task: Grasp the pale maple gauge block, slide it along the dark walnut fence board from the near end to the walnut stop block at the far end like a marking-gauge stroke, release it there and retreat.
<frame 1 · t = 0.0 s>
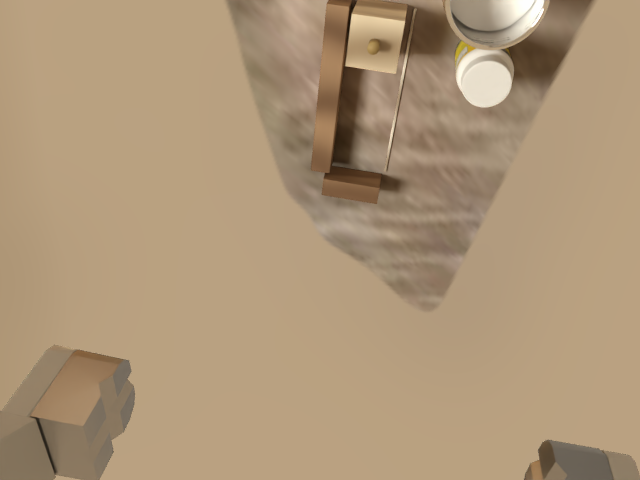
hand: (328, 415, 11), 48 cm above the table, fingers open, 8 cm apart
gauge block: (379, 26, 53), on the table
supplement bottle: (480, 51, 53), on the table
fence board: (331, 86, 57), on the table
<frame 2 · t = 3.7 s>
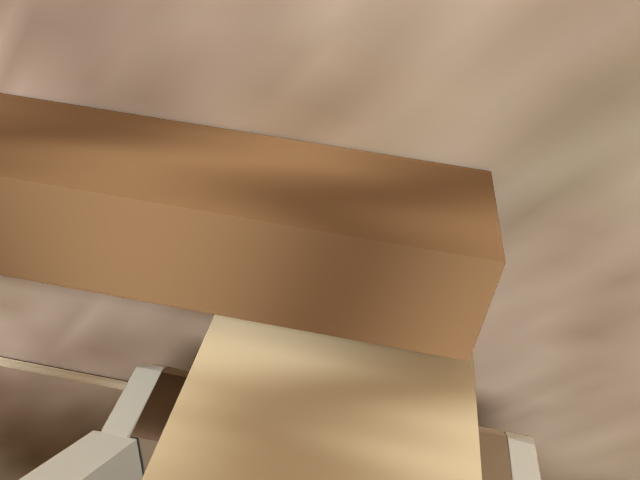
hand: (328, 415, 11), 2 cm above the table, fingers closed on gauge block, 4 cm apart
gauge block: (341, 342, 13), on the table, touching gripper
fence board: (29, 145, 11), on the table
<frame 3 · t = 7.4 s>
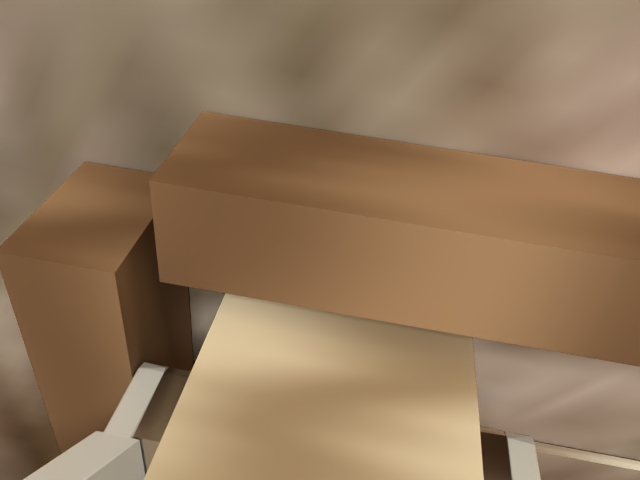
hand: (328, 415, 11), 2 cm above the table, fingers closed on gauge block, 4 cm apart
gauge block: (342, 343, 13), point 1 cm above the table, touching gripper
when the fingers open (2 cm above the table, at t = 9.5 s): gauge block stays where it is, on the table.
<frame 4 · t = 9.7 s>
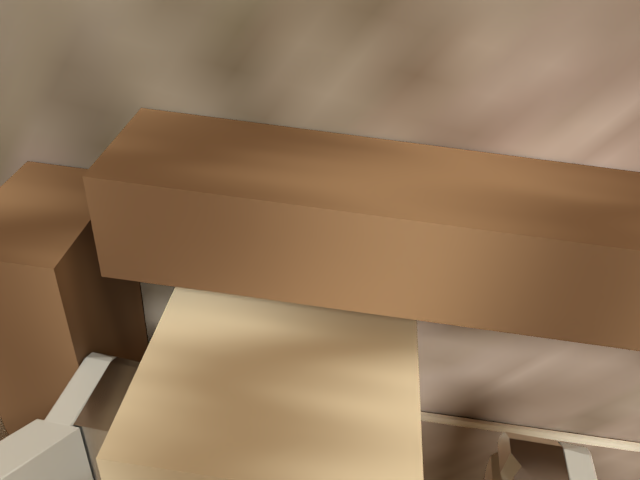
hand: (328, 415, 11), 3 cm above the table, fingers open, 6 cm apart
gauge block: (300, 315, 13), on the table
fence board: (581, 212, 11), on the table
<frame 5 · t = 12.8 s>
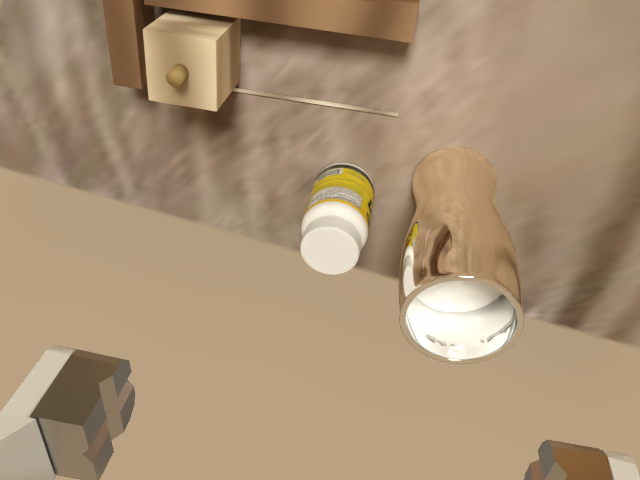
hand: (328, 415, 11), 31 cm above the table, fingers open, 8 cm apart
beer glass: (453, 181, 43), on the table
gauge block: (209, 43, 39), on the table
supplement bottle: (345, 186, 45), on the table
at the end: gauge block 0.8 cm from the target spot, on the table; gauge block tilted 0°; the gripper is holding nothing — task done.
